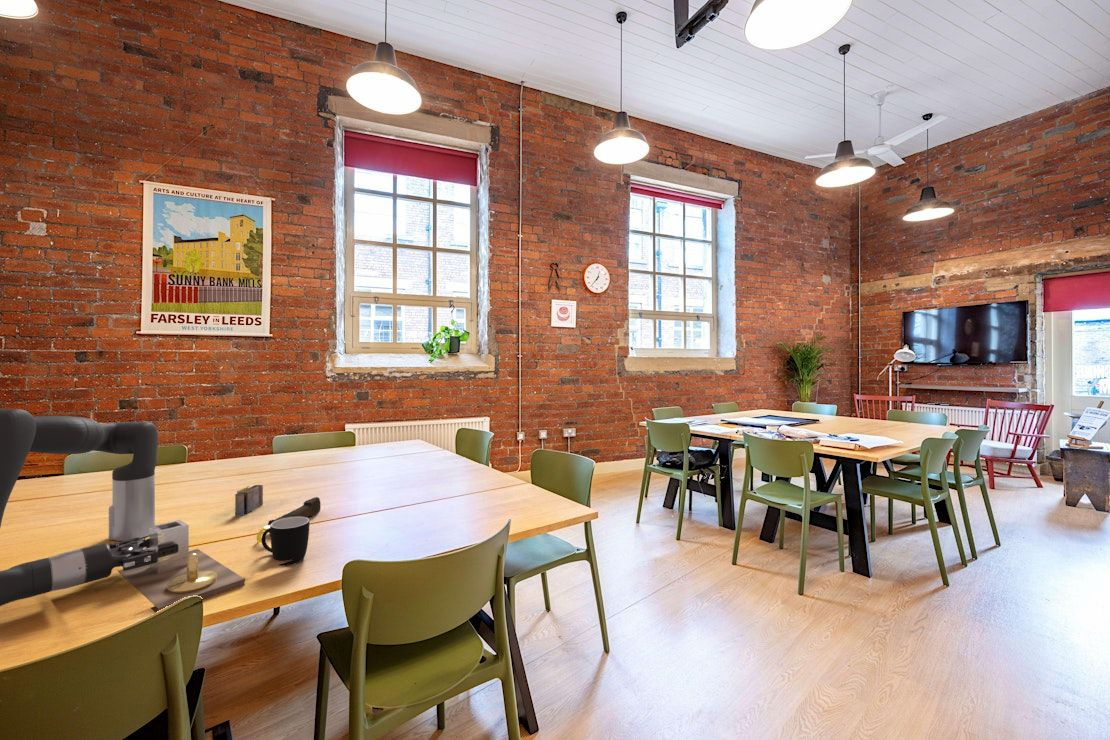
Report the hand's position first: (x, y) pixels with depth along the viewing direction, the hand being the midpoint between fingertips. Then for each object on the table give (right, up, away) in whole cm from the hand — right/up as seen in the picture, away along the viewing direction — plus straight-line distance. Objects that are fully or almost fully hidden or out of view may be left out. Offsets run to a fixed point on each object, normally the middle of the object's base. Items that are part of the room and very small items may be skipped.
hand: (171, 543), depth 115 cm
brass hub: (+12, -6, -9) cm, 16 cm away
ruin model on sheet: (-10, -6, +46) cm, 47 cm away
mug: (+23, -8, +8) cm, 26 cm away
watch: (+14, -7, +15) cm, 22 cm away
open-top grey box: (0, -6, 0) cm, 6 cm away
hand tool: (+11, -7, +36) cm, 38 cm away
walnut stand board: (+6, -7, -4) cm, 10 cm away
